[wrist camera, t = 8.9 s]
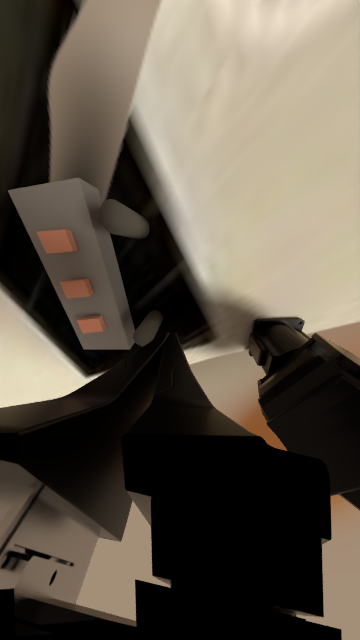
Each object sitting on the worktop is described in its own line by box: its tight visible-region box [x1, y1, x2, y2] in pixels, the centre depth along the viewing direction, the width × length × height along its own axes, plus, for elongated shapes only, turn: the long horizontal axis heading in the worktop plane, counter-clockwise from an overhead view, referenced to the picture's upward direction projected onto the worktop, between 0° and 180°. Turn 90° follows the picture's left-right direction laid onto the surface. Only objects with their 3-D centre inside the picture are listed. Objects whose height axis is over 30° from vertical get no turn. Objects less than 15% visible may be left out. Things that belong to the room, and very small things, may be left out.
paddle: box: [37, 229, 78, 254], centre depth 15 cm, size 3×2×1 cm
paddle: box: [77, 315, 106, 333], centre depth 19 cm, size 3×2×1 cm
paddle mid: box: [60, 278, 94, 299], centre depth 17 cm, size 3×2×1 cm
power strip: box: [8, 178, 135, 349], centre depth 19 cm, size 8×20×3 cm, turn 5°
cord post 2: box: [133, 310, 163, 346], centre depth 20 cm, size 2×2×6 cm
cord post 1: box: [100, 199, 149, 239], centre depth 14 cm, size 2×2×6 cm
